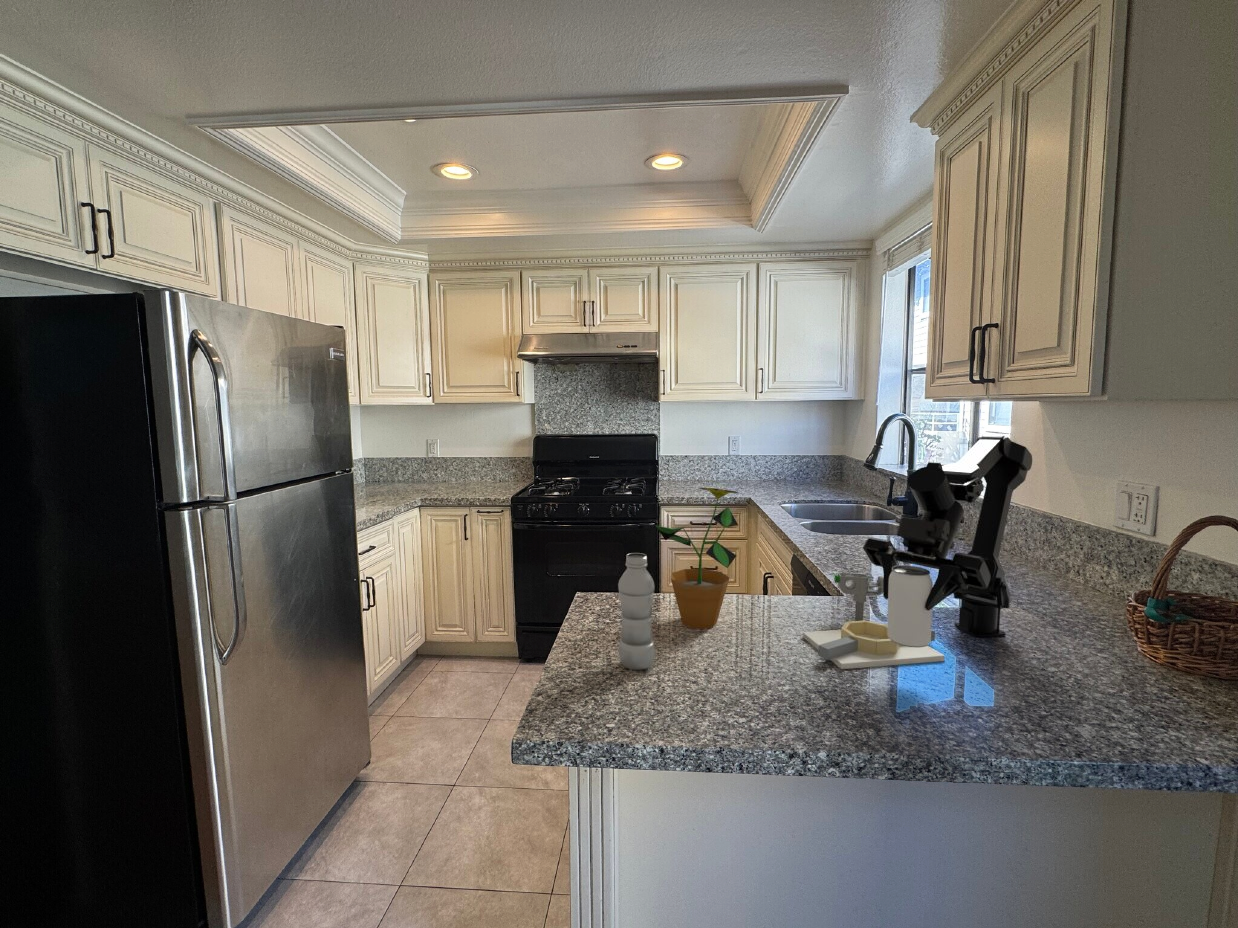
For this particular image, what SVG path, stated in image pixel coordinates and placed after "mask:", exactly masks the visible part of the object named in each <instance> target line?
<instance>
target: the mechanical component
mask: <svg viewBox="0 0 1238 928" xmlns="http://www.w3.org/2000/svg"><path fill="white" fill-rule="evenodd" d="M833 578H834V583H838V588H839V589H840V590H841V592H842V593H843V594H846V595H853V601H854V602H855V615H854V619H855V621H864V610H865V609H864V606H865V605H864V604H865V603H866V602H867V596H882V595H883V578H884V576H881V575H880V576H879V575H878V577H877V579H876V580H875V581H876V582H875V581H871V579H869V576H868V575H867V574H865V573H850V572H849V573H848V572H838V573H837V574H835V575H834V577H833ZM848 581H851V583H850V584H847V582H848ZM869 588H877V589H869Z"/></svg>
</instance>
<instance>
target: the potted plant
mask: <svg viewBox="0 0 1238 928" xmlns="http://www.w3.org/2000/svg"><path fill="white" fill-rule="evenodd" d="M699 489H701V490H702V491H703V490H704V491H708V492H710V493H711V494H712V496H714V497H715V499H716V502H715V507H714V510H713V514H712V516H711V519H710V522H709V524H708V527H707V530H706V533H705V535H704V537H703V541H702V543H701V544H702V545H701V548H700V552H699V551H698V549H697V548H696V546H695V545H694V543H693V541H692V540H691V538H690V536H689V534H688V533H687V531H686V529H685V527H684V526H683V527H682V526H681V527H672V528H671V527H667V526H666V527H665V526H662V525H656V524H655V525H654V527H655V529H656V530H657V531H658V533H660V535H661V536H662V538H663V539H664V540H665V541H667V540H671V541H675V542H678V543H679V544H683V545H685V546H689V547H691V546H692V547H693V550H694V551H695V553H696V554H697V556H698V559H699V560H698V561H699V562H698V568H684V569H680V570H677V571H673V572H671V574H670V580H671V584H672V587H673V588H672V589H673V591H674V592H673V593H674V595H675V596H674V597H675V600H676V604H677V609H678V612H679V616H680V620H681V622H682V625H683V626H685V627H688V628H690V629H698V630H704V629H706V630H707V629H711V628H714V627H715V625H716V624H717V623H718V620H719V615H720V612H721V608H722V605H723V601H724V598H725V595H726V592H727V589H728V584H729V582H730V577H729V576H727V575H726V574H725V573H723V572H722V571H718V570H711V569H707V568H702V565H703V564H702V563H703V562H702V561H703V560H702V557H703V552H704V548H705V545H711V546H710V547H709V548H708V549H707V550H706V552H705V554H706V555H708V556H709V557H711V558H712V559H713V560H715V561H716V562H718V563H719V564H720V565H722V566H723V567H724V568H727V569H728V568H729V567H730V565H731V564H732V563H733V562H734V560H735V559H736V557H737V556H738V555H736V554H735V553H733V552H732V551H730V550H729V549H728V548H727V547H724V545H723V544H720V543H719V542H718V541H719V539H720V538H721V536H722V534H723V532H724V531H725V528H730V527H737V526H739V523H738V521H737V520H736V518H735V516H734V515H733V513H732V512H731V510H730V508H729V507H728V506H727V507H725V509H723V510H722V511H720V512H719V513H718V514H716V512H717V506H718V502H719V499H721V498H723V497H724V496H726V495H728V494H739V492H737V491H736V490H729V489H721V488H713V487H699ZM713 521H715V522H716V523H718V524H719V525H720V526H722V527H723V528H722V530H721V532H720V533H719V535H718V536H717V538H716V539H715V540H712V541H711V540H710V541H706V540H707V538H708V537H707V536H708V534H709V531H710V529H711V526H712V523H713ZM682 530H683V531H684V533H685V534H686V536H687V538H685V537H683V536H680V535H677V534H678V532H680V531H682Z"/></svg>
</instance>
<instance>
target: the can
mask: <svg viewBox="0 0 1238 928" xmlns="http://www.w3.org/2000/svg"><path fill="white" fill-rule="evenodd" d="M930 574H931V571H930V570H929V569H926V568H924V567H922V566H920V567H918V566H916V565H898V566H894V567H892V572H891V574H890V576H889V585H888V599H887V625H888V626H887V635H888V637H889V638H890V640H892V641H893V642H895V643H897V644H900V645H903V646H908V647H925V646H927V645H928V646H929V645H930V644H931V643H932V641H931V629H932V624H933V623H932V622H933V616H932V615H933V608H932V609H931V610H929V611H928V610H926V608H925V604H926V601H927V598H928V596H929V594H930V592H931V590H932V588H933V586H934V584H933V580H932V577H931V575H930Z"/></svg>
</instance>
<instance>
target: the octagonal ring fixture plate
mask: <svg viewBox="0 0 1238 928" xmlns="http://www.w3.org/2000/svg"><path fill="white" fill-rule="evenodd" d="M887 626H888V624H884V623H880V622H875V621H870V620H864V619H863V621H856V620H854V621H853V620H852V621H851V620H850V621H845V623H844V624H843V625H842V626H841V629H830V630H828V629H827V630H818V631H817V630H814V631H803V632H802V638H804V639H805V640H806V641H807V642H808V643H809V644H811V646H813V647H814V648H815V649H816V650H817V651H818V657H820V658H823V659H824V660H826V661H831V662H832V663H833V664H834V665H835V666H837V667H838V668H839V669H840V670H849V669H860V668H861V669H862V668H872V667H886V666H887V667H888V666H898V665H911V664H912V665H913V664H922V663H923V664H924V663H934V662H935V663H937V662H945V655H944V654H943V653H941V652H939V651H938V650H936V649H934V648H933V647H931V646H929V644H928V645H927V646H925V647H908V646H903V645H900V644H897V643H895V642H893V641H892V640H890V638H889V637H888V635H887ZM935 640H936V630H934V629H932V628H931V642H935Z"/></svg>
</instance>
